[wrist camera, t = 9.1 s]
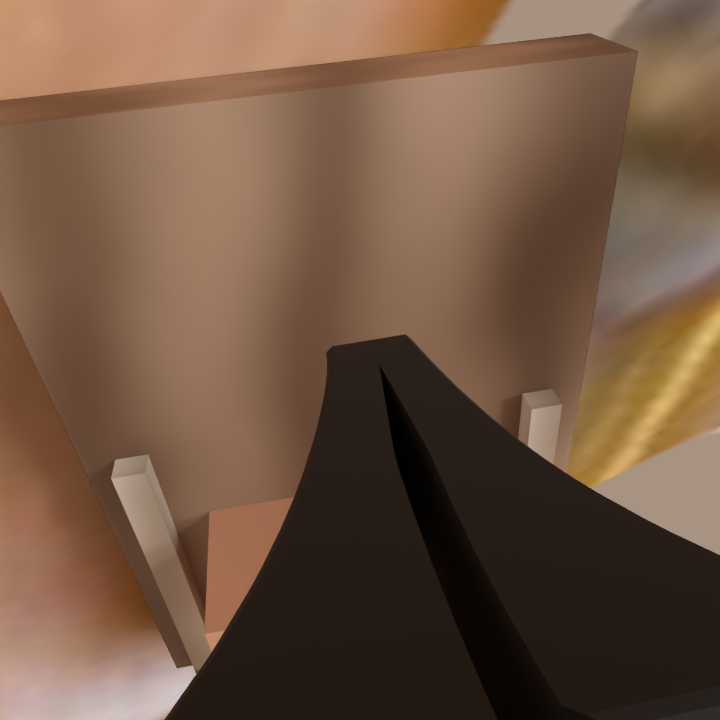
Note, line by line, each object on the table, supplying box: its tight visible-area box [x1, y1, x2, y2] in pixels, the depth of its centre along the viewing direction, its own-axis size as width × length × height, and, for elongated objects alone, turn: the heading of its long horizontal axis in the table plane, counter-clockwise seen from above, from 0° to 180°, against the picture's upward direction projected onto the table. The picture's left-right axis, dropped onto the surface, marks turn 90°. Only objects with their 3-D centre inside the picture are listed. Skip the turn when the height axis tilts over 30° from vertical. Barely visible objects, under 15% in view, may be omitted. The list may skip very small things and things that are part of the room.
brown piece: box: [0, 33, 638, 674], centre depth 22 cm, size 16×22×3 cm
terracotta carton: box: [205, 497, 294, 652], centre depth 23 cm, size 9×8×4 cm
